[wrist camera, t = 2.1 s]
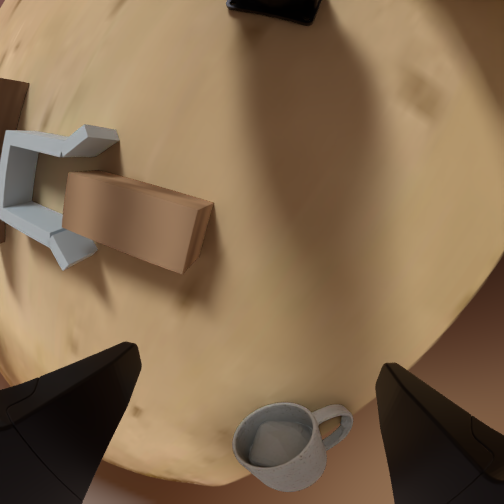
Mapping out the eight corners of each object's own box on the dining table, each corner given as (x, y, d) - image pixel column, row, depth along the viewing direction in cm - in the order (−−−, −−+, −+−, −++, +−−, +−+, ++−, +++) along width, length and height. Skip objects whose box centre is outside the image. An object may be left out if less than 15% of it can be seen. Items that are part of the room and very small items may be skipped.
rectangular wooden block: (214, 202, 19) (197, 210, 15) (200, 255, 20) (182, 274, 16) (100, 170, 19) (68, 172, 15) (92, 217, 20) (61, 227, 16)
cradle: (122, 130, 18) (91, 125, 14) (97, 258, 21) (68, 274, 17) (38, 117, 18) (9, 115, 14) (22, 220, 21) (-5, 229, 17)
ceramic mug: (265, 449, 26) (260, 502, 18) (236, 409, 24) (225, 471, 16) (355, 428, 24) (367, 482, 16) (343, 382, 22) (359, 447, 15)
